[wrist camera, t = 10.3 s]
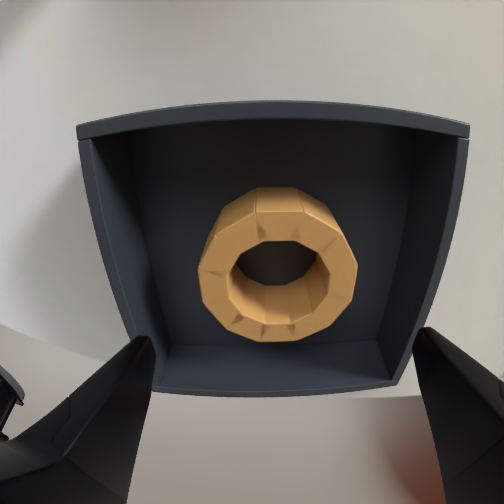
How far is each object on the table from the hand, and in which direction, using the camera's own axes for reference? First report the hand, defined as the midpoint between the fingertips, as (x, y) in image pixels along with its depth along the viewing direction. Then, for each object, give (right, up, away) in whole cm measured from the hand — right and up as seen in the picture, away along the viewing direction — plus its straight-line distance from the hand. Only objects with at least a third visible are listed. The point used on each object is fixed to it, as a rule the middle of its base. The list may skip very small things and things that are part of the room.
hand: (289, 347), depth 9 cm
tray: (0, +3, +6) cm, 7 cm away
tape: (0, +3, +6) cm, 6 cm away
